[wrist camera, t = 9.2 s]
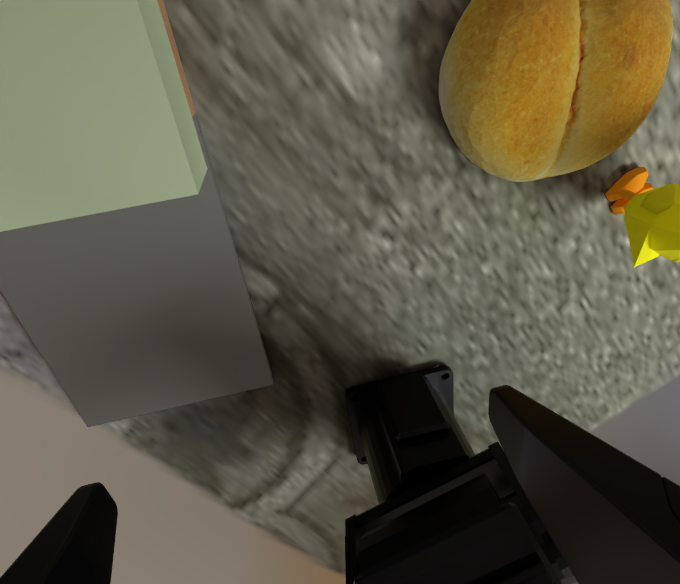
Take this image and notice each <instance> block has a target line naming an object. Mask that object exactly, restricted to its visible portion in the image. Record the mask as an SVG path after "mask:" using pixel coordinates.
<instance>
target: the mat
mask: <svg viewBox="0 0 680 584" xmlns="http://www.w3.org/2000/svg"><path fill="white" fill-rule="evenodd" d="M192 119H193V122H194V126H195V129H196V132H197V136H198V139H199V142H200V146H201V149H202V152H203V156H204V159H205V163H206V166H207V171H206V174H205V177H204V180H203V183H202V185H201V188H200V191H199V194H197V195H192V196H186V197H181V198H176V199H171V200H165V201H160V202H155V203H149V204H144V205H139V206H134V207H128V208H123V209H118V210H112V211H107V212H102V213H97V214H91V215H86V216H81V217H75V218H70V219H65V220H60V221H54V222H49V223H44V224H39V225H33V226H28V227H23V228H17V229H12V230H7V231H2V232H0V291H1V293H2V294H3V296H4V297H5V299H6V301H7V302H8V304H9V305H10V307H11V308H12V310H13V311H14V313H15V315H16V316H17V318H18V319H19V321H20V322H21V324H22V326H23V327H24V329H25V330H26V332H27V333H28V335H29V336H30V338H31V340H32V341H33V343H34V344H35V346H36V347H37V349H38V351H39V352H40V354H41V355H42V357H43V358H44V360H45V361H46V363H47V365H48V366H49V368H50V369H51V371H52V372H53V374H54V375H55V377H56V379H57V380H58V382H59V383H60V385H61V386H62V388H63V390H64V391H65V393H66V394H67V396H68V397H69V399H70V400H71V402H72V404H73V405H74V407H75V408H76V410H77V411H78V413H79V415H80V416H81V418H82V419H83V421H84V422H85V424H86V425H87V427H91V426H95V425H99V424H104V423H108V422H112V421H117V420H121V419H126V418H130V417H134V416H139V415H143V414H147V413H152V412H156V411H161V410H165V409H169V408H174V407H178V406H182V405H187V404H191V403H196V402H200V401H204V400H209V399H213V398H217V397H222V396H226V395H231V394H235V393H239V392H244V391H248V390H252V389H257V388H261V387H266V386H270V385H274V378H273V375H272V371H271V368H270V364H269V361H268V358H267V354H266V351H265V347H264V344H263V340H262V337H261V334H260V330H259V327H258V323H257V320H256V317H255V313H254V310H253V306H252V303H251V299H250V296H249V293H248V289H247V286H246V282H245V279H244V276H243V272H242V269H241V265H240V262H239V258H238V255H237V252H236V248H235V245H234V241H233V238H232V235H231V231H230V228H229V224H228V221H227V217H226V214H225V211H224V207H223V204H222V200H221V197H220V194H219V190H218V187H217V183H216V180H215V176H214V173H213V170H212V166H211V163H210V159H209V156H208V153H207V149H206V146H205V142H204V139H203V135H202V132H201V129H200V125H199V122H198V118H197V115H196V113H195V114H194V115H193V117H192Z"/></svg>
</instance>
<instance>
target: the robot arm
mask: <svg viewBox="0 0 680 584" xmlns="http://www.w3.org/2000/svg"><path fill="white" fill-rule="evenodd" d="M445 373H446V374H445ZM443 374H445V375H443ZM354 394H357V395H355V396H352V395H354ZM345 397H346V403H347V408H348V413H349V419H350V424H351V430H352V435H353V441H354V446H355V452H356V457H357V461H358V463H360V464H368V466H369V470H370V473H371V477H372V481H373V484H374V488H375V491H376V495H377V499H378V502H379V505H377V506H375V507H373V508H371V509H369V510H367V511H365V512H363V513H361V514H359V515H357V516H356V515H353V516H351V517H349V518H347V519H346V520H345V527H346V536H345V560H346V584H680V486H679V485H677V484H676V483H674V482H672V481H670V480H669V479H667V478H665V477H662V478H661V475H660V474H658V473H657V472H655V471H653V470H651V469H650V468H648V467H647V466H645V465H643V464H642V463H640V462H638V461H636V460H635V459H633V458H631V457H630V456H628V455H626V454H625V453H623V452H621V451H619V450H618V449H616V448H614V447H613V446H611V445H609V444H607V443H606V442H604V441H602V440H601V439H599V438H597V437H596V436H594V435H592V434H591V433H589V432H587V431H586V430H584V429H582V428H580V427H579V426H577V425H575V424H574V423H572V422H570V421H569V420H567V419H565V418H563V417H562V416H560V415H558V414H557V413H555V412H553V411H552V410H550V409H548V408H547V407H545V406H543V405H541V404H540V403H538V402H536V401H535V400H533V399H531V398H530V397H528V396H526V395H524V394H523V393H521V392H519V391H518V390H516V389H514V388H513V387H511V386H508V385H503V386H499V387H495V388H492V389H491V390H490V394H489V418H490V422H491V424H492V426H493V428H494V430H495V433H496V435H497V437H498V439H499V441H500V443H501V446H502V448H503V449H502V448H501V446H500V445H499V443H498V442H496V443H494V444H492V445H490V446H488V447H489V448H488V449H486V450H484V451H482V452H480V453H479V454H477V455H475V453H474V452H473V450H472V448H471V446H470V444H469V442H468V441H467V439H466V437H465V435H464V433H463V431H462V430H461V428H460V426H459V424H458V422H457V420H456V419H455V417H454V415H453V372H452V370H451V369H450V368H449V367H448V366H439V367H435V368H431V369H427V370H422V371H418V372H414V373H409V374H405V375H401V376H396V377H392V378H388V379H384V380H379V381H375V382H371V383H366V384H362V385H358V386H353V387H350V388H349V389H347V390H346V392H345ZM503 450H504V451H503ZM117 515H118V512H117V506H116V503H115V501H114V500H113V499H112V497H111V496H110V494H109V493H108V491H107V490H106V488H105V487H104V485H103V484H101V483H99V482H98V483H93V484H88V485H84V486H81V487H80V488H78V489H77V490H76V491H75V492H74V494H73V495H72V496H71V497H70V498H69V499H68V500H67V502H66V503H65V504H64V505H63V506H62V507H61V508H60V510H59V511H58V512H57V513H56V514H55V515H54V517H53V518H52V519H51V520H50V521H49V522H48V523H47V525H46V526H45V527H44V528H43V529H42V530H41V531H40V533H39V534H38V535H37V536H36V537H35V538H34V540H33V541H32V542H31V543H30V544H29V545H28V546H27V548H26V549H25V550H24V551H23V552H22V553H21V554H20V556H19V557H18V558H17V559H16V560H15V561H14V562H13V564H12V565H11V566H10V567H9V568H8V569H7V570H6V572H5V573H4V574H3V575H2V576H1V577H0V584H110V581H111V573H112V564H113V554H114V544H115V534H116V525H117Z"/></svg>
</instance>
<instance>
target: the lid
mask: <svg viewBox="0 0 680 584" xmlns="http://www.w3.org/2000/svg"><path fill="white" fill-rule="evenodd" d="M206 171H207V166H206V163H205V159H204V156H203V152H202V149H201V146H200V142H199V139H198V136H197V132H196V129H195V126H194V122H193V119H192V116H191V112H190V109H189V105H188V102H187V99H186V95H185V92H184V89H183V85H182V82H181V79H180V75H179V72H178V68H177V65H176V62H175V58H174V55H173V52H172V48H171V45H170V42H169V38H168V35H167V32H166V28H165V25H164V21H163V18H162V15H161V11H160V8H159V5H158V1H157V0H0V232H2V231H7V230H12V229H17V228H23V227H28V226H33V225H39V224H44V223H49V222H54V221H60V220H65V219H70V218H75V217H81V216H86V215H91V214H97V213H102V212H107V211H112V210H118V209H123V208H128V207H134V206H139V205H144V204H149V203H155V202H160V201H165V200H171V199H176V198H181V197H186V196H192V195H197V194H199V191H200V188H201V185H202V183H203V180H204V177H205V174H206Z"/></svg>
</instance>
